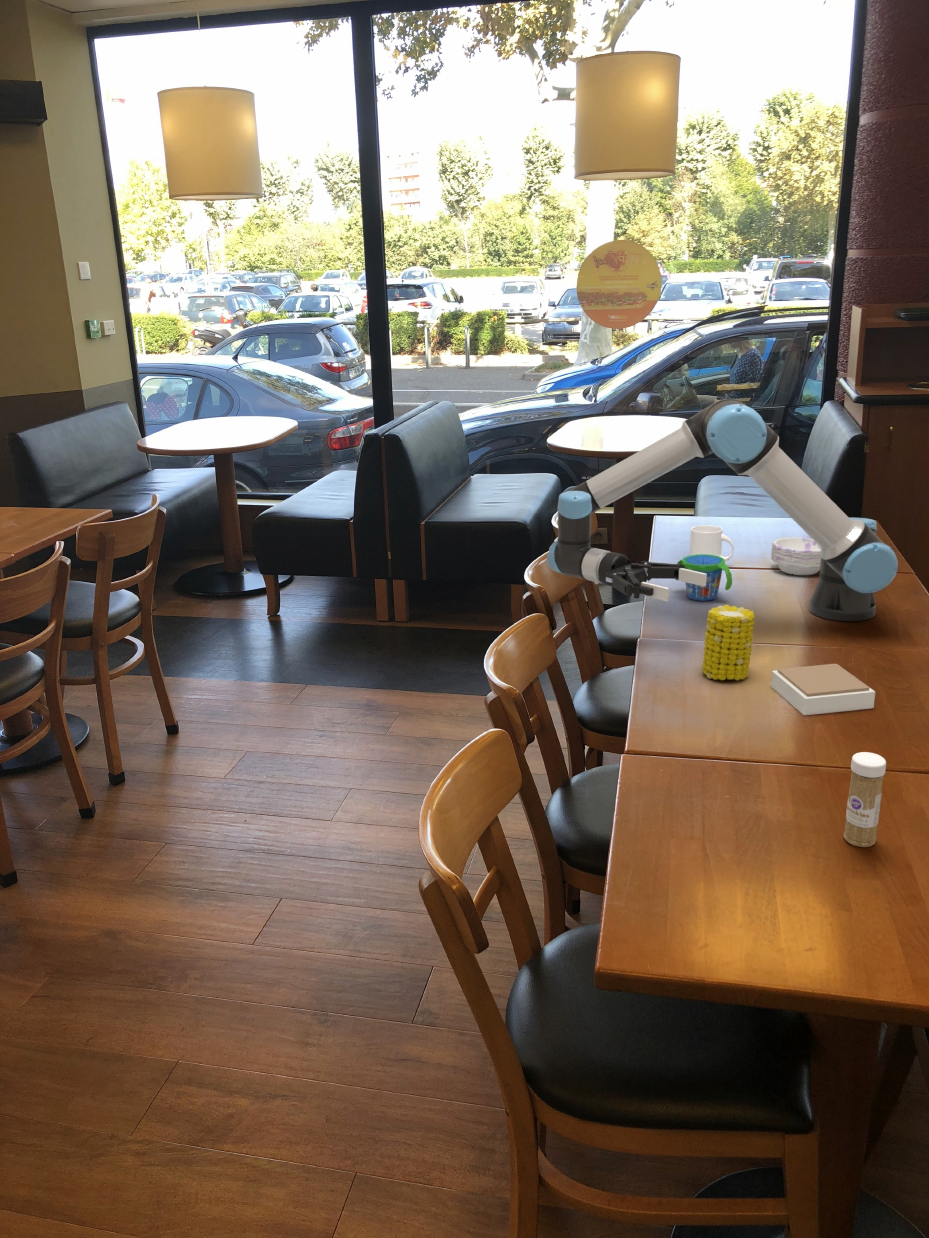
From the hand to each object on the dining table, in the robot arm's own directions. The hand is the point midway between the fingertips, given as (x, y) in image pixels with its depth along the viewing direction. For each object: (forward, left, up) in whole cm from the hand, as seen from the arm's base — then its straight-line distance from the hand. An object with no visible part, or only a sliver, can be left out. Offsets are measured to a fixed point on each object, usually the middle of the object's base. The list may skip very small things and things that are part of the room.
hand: (687, 587), depth 203 cm
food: (-6, +8, -17) cm, 20 cm away
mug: (-33, -67, -17) cm, 77 cm away
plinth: (-19, +23, -17) cm, 34 cm away
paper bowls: (-54, -56, -17) cm, 80 cm away
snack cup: (-20, -41, -17) cm, 49 cm away
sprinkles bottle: (0, +71, -17) cm, 73 cm away
